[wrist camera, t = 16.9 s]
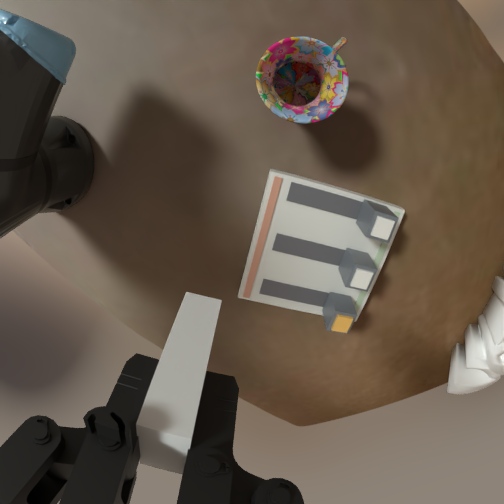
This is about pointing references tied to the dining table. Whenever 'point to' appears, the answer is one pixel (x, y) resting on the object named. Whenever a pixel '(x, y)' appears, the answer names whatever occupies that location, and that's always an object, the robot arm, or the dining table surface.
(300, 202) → the panel
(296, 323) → the dining table surface
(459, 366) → the wavy white extrusion
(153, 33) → the dining table surface
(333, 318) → the block
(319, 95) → the mug
